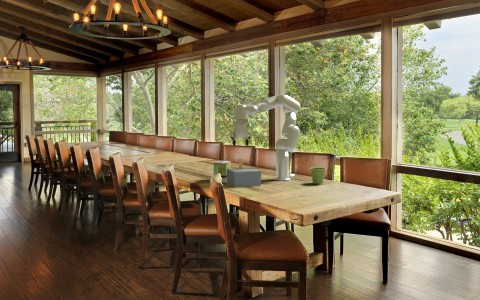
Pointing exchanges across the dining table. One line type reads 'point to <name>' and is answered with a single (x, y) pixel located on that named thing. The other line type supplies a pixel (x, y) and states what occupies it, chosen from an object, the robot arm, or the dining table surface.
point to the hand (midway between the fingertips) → (240, 145)
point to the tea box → (222, 169)
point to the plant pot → (317, 175)
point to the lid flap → (242, 170)
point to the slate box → (244, 179)
